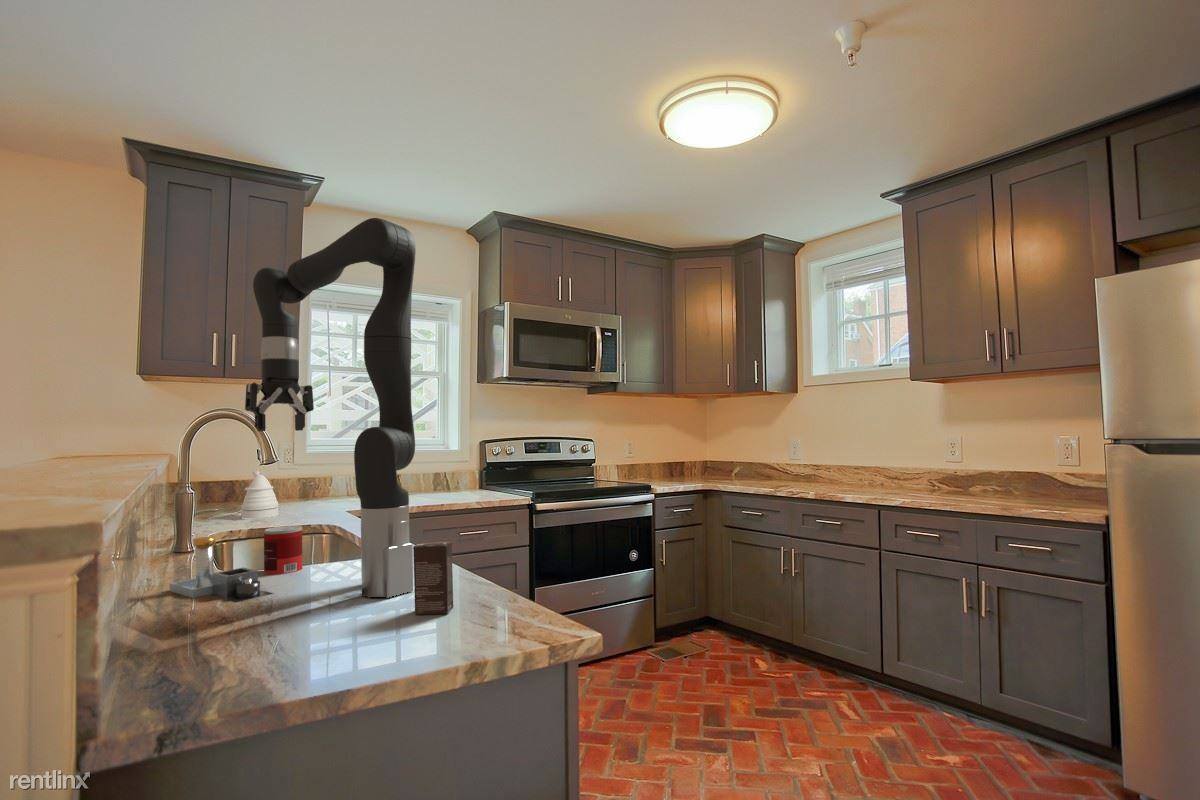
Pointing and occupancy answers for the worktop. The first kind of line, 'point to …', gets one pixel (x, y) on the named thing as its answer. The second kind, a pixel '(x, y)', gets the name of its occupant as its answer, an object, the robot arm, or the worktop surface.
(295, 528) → the canned food
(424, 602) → the box
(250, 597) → the pulley bracket
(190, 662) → the worktop surface
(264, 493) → the honey pot
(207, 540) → the lock pin
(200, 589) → the tray
